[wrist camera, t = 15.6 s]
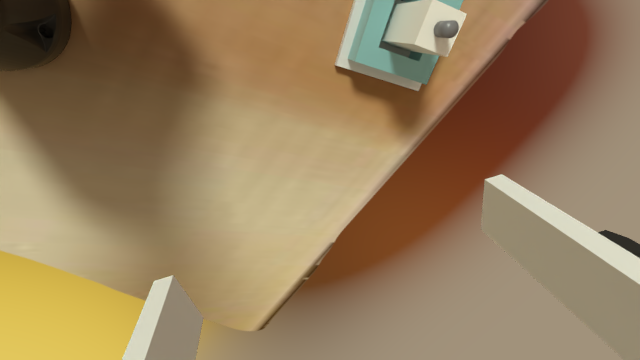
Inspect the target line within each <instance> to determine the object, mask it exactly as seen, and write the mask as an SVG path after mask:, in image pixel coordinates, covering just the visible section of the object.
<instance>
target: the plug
mask: <svg viewBox="0 0 640 360" xmlns="http://www.w3.org/2000/svg"><path fill="white" fill-rule="evenodd" d="M466 15H467V14H466V13H464V12H462V11H459V10H457V9H455V8H453V7H451V6H448V5H446V4H444V3H442V2H440V1H437V0H421V1H414V2H408V3H402V4H395V5H393V7H392V10H391V13H390V15H389V18H388V21H387V24H386V27H385V30H384V33H383V35H382V38H381V42H384V43H387V44H389V45H392V46H395V47H397V48H400V49H403V50H407V51H413V52H419V53H426V54H432V55H438V56H444V57H448V54H449V52H450V50H451V48H452V46H453V43H454V41H455V39H456V37H457V35H458V33H459V30H460V28H461V26H462V24H463V22H464V19H465V17H466Z"/></svg>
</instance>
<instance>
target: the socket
mask: <svg viewBox="0 0 640 360" xmlns="http://www.w3.org/2000/svg"><path fill="white" fill-rule="evenodd" d="M414 1H421V0H354V2H353V5H352V8H351V12H350V15H349V18H348V22H347V25H346V28H345V32H344V35H343V38H342V42H341V45H340V49H339V52H338V55H337V59H336V62H335V65H336V66H339V67H343V68H346V69H349V70H352V71H355V72H358V73H362V74H365V75H368V76H371V77H374V78H377V79H381V80H384V81H387V82H390V83H393V84H397V85H400V86H403V87H406V88H409V89H412V90H416V91H419V89H420V87H421V84H426V85H427V83H428V80H429V78H430V76H431V73H432V71H433V69H434V66H435V64H436V62H437V60H438V57H439V56H438V55H432V54H426V53H419V52H413V51H407V50H403V49H400V48H397V47H395V46H392V45H389V44H387V43H384V42H381V38H382V35H383V33H384V30H385V27H386V24H387V21H388V18H389V15H390V13H391V10H392V7H393V5H395V4H402V3H408V2H414ZM437 1H440V2H442V3H444V4H446V5H448V6H451V7H453V8H455V9H457V10H459V9H460V7H461V5H462V2H463V0H437Z"/></svg>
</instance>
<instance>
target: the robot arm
mask: <svg viewBox="0 0 640 360" xmlns="http://www.w3.org/2000/svg"><path fill="white" fill-rule="evenodd" d="M70 30H71V14H70V8H69V4H68V1H67V0H0V70H4V71H14V70H23V69H29V68H34V67H38V66H42V65H44V64H47V63H48V62H50V61H52V60H53V59H55V58H56V57H57V56H58V55H59V54H60V53H61V52H62V51H63V49H64V48H65V46H66V44H67V42H68V39H69V35H70ZM481 230H482V231H483V232H484V233H485V234H486V235H487V236H489V237H490V238H491V239H492V240H493V241H494V242H495V243H496V244H497V245H498V246H499V247H501V248H502V249H503V250H504V251H505V252H506V253H507V254H508V255H509V256H510V257H512V258H513V259H514V260H515V261H516V262H517V263H518V264H519V265H520V266H521V267H523V268H524V269H525V270H526V271H527V272H528V273H529V274H530V275H531V276H532V277H533V278H534V279H536V280H537V281H538V282H539V283H540V284H541V285H542V286H543V287H544V288H545V289H547V290H548V291H549V292H550V293H551V294H552V295H553V296H554V297H555V298H556V299H558V300H559V301H560V302H561V303H562V304H563V305H564V306H565V307H566V308H567V309H569V311H571V312H572V313H573V314H574V315H575V316H576V317H577V318H578V319H579V320H580V321H582V322H583V323H584V324H585V325H586V326H587V327H588V328H589V329H590V330H591V331H592V332H594V333H595V334H596V335H597V336H598V337H599V338H600V339H601V340H602V341H604V342H605V343H606V344H607V345H608V346H609V347H610V348H611V349H612V350H613V351H614V352H615V353H617V354H618V355H619V356H620V357H621V358H622V359H623V360H640V244H638V243H636V242H635V241H633V240H631V239H629V238H627V237H624V236H621V235H618V234H615V233H613V232H610V231H607V230H604V231H601V232H598V233H597V232H596V231H594V230H592V229H591V228H589V227H588V226H586V225H584V224H583V223H581V222H579V221H577V220H576V219H574V218H573V217H571V216H569V215H568V214H566V213H565V212H563V211H561V210H560V209H558V208H556V207H555V206H553V205H551V204H550V203H548V202H546V201H545V200H543V199H542V198H540V197H538V196H537V195H535V194H533V193H532V192H530V191H528V190H527V189H525V188H523V187H522V186H520V185H519V184H517V183H515V182H514V181H512V180H510V179H509V178H507V177H505V176H504V175H498V176H495V177H492V178H488V179H485V185H484V196H483V209H482V222H481ZM202 322H203V316H202V315H201V313H200V312H199V310H198V309H197V308H196V306H195V305H194V303H193V302H192V300H191V299H190V298H189V296H188V295H187V293H186V292H185V291H184V289H183V288H182V286H181V285H180V284H179V282H178V281H177V279H176V278H175V276H174V275H172V276H169V277H165V278H162V279H159V280H156V281H154V282H153V285H152V287H151V290H150V292H149V295H148V297H147V300H146V302H145V304H144V307H143V309H142V312H141V315H140V317H139V319H138V321H137V324H136V326H135V329H134V331H133V334H132V336H131V339H130V341H129V343H128V346H127V348H126V351H125V353H124V356H123V358H122V360H195V359H196V354H197V349H198V343H199V338H200V333H201V327H202Z"/></svg>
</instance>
